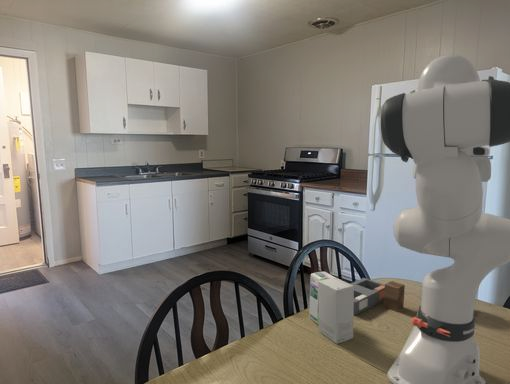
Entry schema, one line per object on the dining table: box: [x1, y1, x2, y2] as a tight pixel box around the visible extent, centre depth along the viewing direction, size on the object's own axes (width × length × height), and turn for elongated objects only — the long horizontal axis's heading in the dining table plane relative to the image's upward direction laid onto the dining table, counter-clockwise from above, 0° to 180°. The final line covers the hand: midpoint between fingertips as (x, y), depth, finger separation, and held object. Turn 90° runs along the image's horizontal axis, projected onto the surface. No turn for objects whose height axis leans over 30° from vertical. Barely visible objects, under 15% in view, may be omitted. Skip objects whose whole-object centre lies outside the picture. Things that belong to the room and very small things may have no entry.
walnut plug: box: [383, 280, 406, 312], centre depth 118 cm, size 4×4×8 cm
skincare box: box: [318, 276, 355, 345], centre depth 100 cm, size 8×7×16 cm
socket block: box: [349, 277, 385, 317], centre depth 122 cm, size 20×10×5 cm, turn 130°
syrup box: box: [308, 271, 334, 326], centre depth 109 cm, size 6×6×14 cm
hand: (448, 196), depth 106 cm, fingers open, 8 cm apart
